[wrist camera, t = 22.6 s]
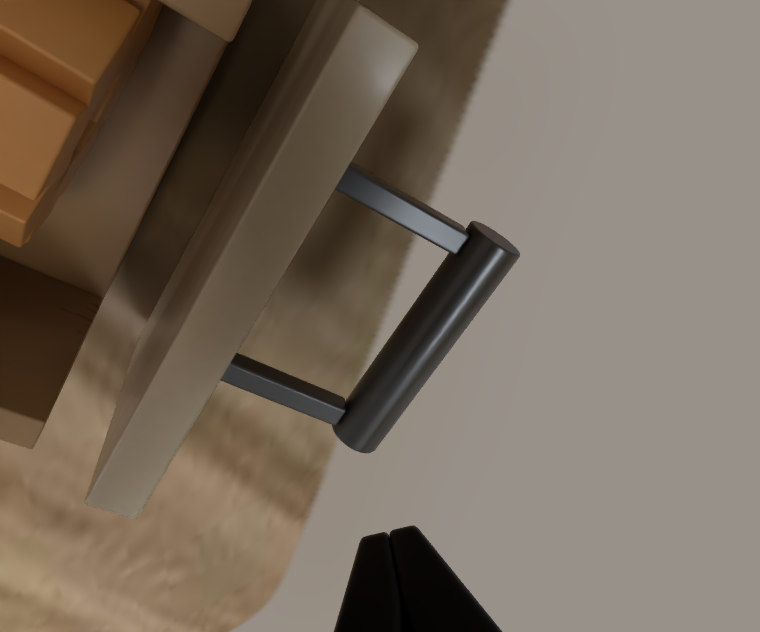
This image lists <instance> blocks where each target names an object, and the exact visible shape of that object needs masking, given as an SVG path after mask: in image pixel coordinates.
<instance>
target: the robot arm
mask: <svg viewBox="0 0 760 632" xmlns="http://www.w3.org/2000/svg"><path fill="white" fill-rule="evenodd" d="M334 632H502V631H501V630H500V628H499V627H498V626H497V625H496V624H495V622H494V621H493V620H492V619H491V617H490V616H489V615H488V614H487V612H486V611H485V610H484V609H483V607H482V606H481V605H480V604H479V603H478V601H477V600H476V599H475V598H474V596H473V595H472V594H471V593H470V591H469V590H468V589H467V588H466V587H465V586H464V584H463V583H462V582H461V580H460V579H459V578H458V577H457V575H456V574H455V573H454V572H453V571H452V569H451V568H450V567H449V566H448V564H447V563H446V562H445V561H444V560H443V558H442V557H441V556H440V555H439V554H438V552H437V551H436V550H435V548H434V547H433V546H432V545H431V543H430V542H429V541H428V540H427V539H426V537H425V536H424V535H423V534H422V533H421V531H420V530H419V529H418V528H417V527H415V526H408V527H403V528H400V529H395V530H392V531H391V532H390V537H389V535H388V534H387V533H385V532H382V533H378V534H374V535H369V536H366V537H363V538H362V539H361V541H360V543H359V547H358V550H357V554H356V557H355V561H354V564H353V568H352V571H351V574H350V578H349V581H348V585H347V588H346V592H345V595H344V599H343V602H342V606H341V609H340V612H339V616H338V619H337V623H336V626H335V630H334Z"/></svg>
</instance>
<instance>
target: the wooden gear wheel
mask: <svg viewBox="0 0 760 632" xmlns="http://www.w3.org/2000/svg"><path fill="white" fill-rule="evenodd" d="M162 5H163V3H161V2H160V1H158V0H0V239H2V240H4V241H7V242H9V243H11V244H13V245H15V246H17V247H22V246H23V244H24V243H27V242H28V241H29V240H30V239H31V238H32V236H33V235H34V234H35V233H36V231H37V230H38V229H39V228H40V226H41V225H42V224H43V223H44V221H45V220H46V219H47V217H48V216H49V215H50V214H51V212H52V210H53V208H54V206H55V204H56V202H57V200H58V198H59V196H62V195H63V194H64V193H65V191H66V189H67V188H68V186H69V184H70V183H71V181H72V179H73V178H74V176H75V174H76V173H77V171H78V169H79V168H80V166H81V164H82V163H83V161H84V159H85V158H86V156H87V154H88V153H89V151H90V149H91V148H92V146H93V145H94V143H95V140H96V137H97V134H98V132H99V129H100V127H101V126H102V124H103V123H104V122H105V121H106V120H107V119H108V118H109V116H110V114H111V112H112V110H113V108H114V106H115V104H116V103H117V101H118V99H119V97H120V95H121V93H122V91H123V89H124V87H125V85H126V83H127V82H128V80H129V78H130V76H131V74H132V72H133V70H134V68H135V66H136V64H137V60H138V59H137V58H138V56H139V54H140V53H141V51H142V49H143V48H144V46H145V45H146V43H147V41H148V40H149V37H150V35H151V32H152V30H153V28H154V25H155V23H156V20H157V18H158V15H159V13H160V10H161V8H162Z"/></svg>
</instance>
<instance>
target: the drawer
mask: <svg viewBox="0 0 760 632" xmlns="http://www.w3.org/2000/svg"><path fill="white" fill-rule="evenodd" d="M158 1H160V2H161V3H163V5H162V8H161V10H160V13H159V15H158V18H157V20H156V23H155V25H154V28H153V30H152V32H151V35H150V37H149V40H148V41H147V43H146V45H145V46H144V48H143V49H142V51H141V53H140V54H139V56H138V58H137V59H138V60H137V64H136V66H135V68H134V70H133V72H132V74H131V76H130V78H129V80H128V82H127V83H126V85H125V87H124V89H123V91H122V93H121V95H120V97H119V99H118V101H117V103H116V104H115V106H114V108H113V110H112V112H111V114H110V116H109V118H108V119H107V120H106V121H105V122H104V123H103V124H102V126H101V127H100V129H99V132H98V134H97V137H96V140H95V143H94V145H93V146H92V148H91V149H90V151H89V153H88V154H87V156H86V158H85V159H84V161H83V163H82V164H81V166H80V168H79V169H78V171H77V173H76V174H75V176H74V178H73V179H72V181H71V183H70V184H69V186H68V188H67V189H66V191H65V193H64V194H63V195H62V196H59V198H58V200H57V202H56V204H55V206H54V208H53V210H52V212H51V214H50V215H49V216H48V217H47V219H46V220H45V221H44V223H43V224H42V225H41V226H40V228H39V229H38V230H37V231H36V233H35V234H34V235H33V236H32V238H31V239H30V240H29V241H28V242H27V243H24V244H23V246H22V247H17V246H15V245H13V244H11V243H9V242H7V241H4V240H2V239H0V440H4V441H7V442H10V443H13V444H16V445H19V446H22V447H25V448H29V449H33V448H34V446H35V444H36V442H37V440H38V438H39V436H40V434H41V432H42V430H43V428H44V426H45V424H46V422H47V419H48V417H49V415H50V413H51V411H52V409H53V407H54V404H55V402H56V400H57V398H58V396H59V394H60V391H61V389H62V387H63V385H64V383H65V381H66V379H67V376H68V374H69V372H70V370H71V368H72V366H73V363H74V361H75V359H76V357H77V355H78V353H79V351H80V348H81V346H82V344H83V342H84V340H85V338H86V335H87V333H88V331H89V329H90V327H91V325H92V323H93V320H94V318H95V316H96V314H97V312H98V310H99V307H100V305H101V303H102V301H103V299H104V297H105V295H106V293H107V291H108V289H109V286H110V284H111V282H112V280H113V278H114V276H115V274H116V272H117V270H118V268H119V266H120V264H121V262H122V260H123V258H124V256H125V254H126V252H127V250H128V247H129V245H130V243H131V241H132V239H133V237H134V235H135V233H136V231H137V229H138V227H139V225H140V223H141V221H142V219H143V217H144V215H145V213H146V211H147V208H148V206H149V204H150V202H151V200H152V198H153V196H154V194H155V192H156V190H157V188H158V186H159V184H160V182H161V180H162V178H163V176H164V174H165V172H166V170H167V167H168V165H169V163H170V161H171V159H172V157H173V155H174V153H175V151H176V149H177V147H178V145H179V143H180V141H181V139H182V137H183V135H184V133H185V131H186V128H187V126H188V124H189V122H190V120H191V118H192V116H193V114H194V112H195V110H196V108H197V106H198V104H199V102H200V100H201V98H202V96H203V94H204V92H205V89H206V87H207V85H208V83H209V81H210V79H211V77H212V75H213V73H214V71H215V69H216V67H217V65H218V63H219V61H220V59H221V57H222V55H223V53H224V51H225V48H226V46H227V44H228V42H231V41H232V40H233V39H234V38H235V36H236V34H237V31H238V29H239V27H240V25H241V23H242V21H243V19H244V17H245V15H246V13H247V11H248V9H249V7H250V5H251V3H252V0H158ZM417 51H418V44H417V43H416V42H415V41H414V40H412V39H411V38H409V37H408V36H406V35H405V34H403V33H402V32H401V31H399V30H398V29H396V28H395V27H393V26H392V25H390V24H389V23H387V22H386V21H385V20H383V19H382V18H380V17H379V16H377V15H376V14H374V13H373V12H371V11H370V10H368V9H367V8H366V7H364V6H363V5H361V4H360V3H358V2H357V1H355V0H316V2H315V4H314V5H313V7H312V9H311V11H310V13H309V15H308V17H307V19H306V21H305V23H304V24H303V26H302V28H301V30H300V32H299V34H298V36H297V38H296V40H295V42H294V44H293V45H292V47H291V49H290V51H289V53H288V55H287V57H286V59H285V61H284V63H283V64H282V66H281V68H280V70H279V72H278V74H277V76H276V78H275V80H274V82H273V83H272V85H271V87H270V89H269V91H268V93H267V95H266V97H265V99H264V101H263V103H262V104H261V106H260V108H259V110H258V112H257V114H256V116H255V118H254V120H253V122H252V123H251V125H250V127H249V129H248V131H247V133H246V135H245V137H244V139H243V141H242V143H241V144H240V146H239V148H238V150H237V152H236V154H235V156H234V158H233V160H232V162H231V163H230V165H229V167H228V169H227V171H226V173H225V175H224V177H223V179H222V181H221V183H220V184H219V186H218V188H217V190H216V192H215V194H214V196H213V198H212V200H211V202H210V203H209V205H208V207H207V209H206V211H205V213H204V215H203V217H202V219H201V221H200V222H199V224H198V226H197V228H196V230H195V232H194V234H193V236H192V238H191V240H190V242H189V243H188V245H187V247H186V249H185V251H184V253H183V255H182V257H181V259H180V261H179V262H178V264H177V266H176V268H175V270H174V272H173V274H172V276H171V278H170V280H169V282H168V283H167V285H166V287H165V289H164V291H163V293H162V295H161V297H160V299H159V301H158V302H157V304H156V306H155V308H154V310H153V312H152V314H151V316H150V318H149V320H148V322H147V323H146V325H145V327H144V329H143V331H142V333H141V335H140V337H139V339H138V341H137V344H136V347H135V350H134V353H133V356H132V359H131V362H130V365H129V368H128V371H127V374H126V377H125V380H124V384H123V387H122V390H121V393H120V396H119V399H118V402H117V405H116V408H115V411H114V414H113V417H112V420H111V423H110V426H109V429H108V432H107V435H106V438H105V441H104V444H103V447H102V450H101V453H100V456H99V459H98V462H97V465H96V468H95V471H94V474H93V477H92V480H91V484H90V487H89V490H88V493H87V496H86V499H85V504H87V505H89V506H92V507H95V508H99V509H102V510H105V511H109V512H112V513H116V514H119V515H122V516H126V517H129V518H132V519H136V518H137V517H138V516H139V515H140V513H141V511H142V510H143V508H144V506H145V505H146V503H147V501H148V500H149V498H150V496H151V495H152V493H153V491H154V490H155V488H156V486H157V485H158V483H159V481H160V480H161V478H162V476H163V475H164V473H165V471H166V470H167V468H168V466H169V465H170V463H171V461H172V460H173V458H174V456H175V455H176V453H177V451H178V450H179V448H180V446H181V445H182V443H183V441H184V440H185V438H186V436H187V435H188V433H189V431H190V430H191V428H192V426H193V425H194V423H195V421H196V419H197V418H198V416H199V414H200V413H201V411H202V409H203V408H204V406H205V404H206V403H207V401H208V399H209V398H210V396H211V394H212V393H213V391H214V389H215V388H216V386H217V384H218V383H219V381H220V380H221V381H224V382H226V383H229V384H231V385H234V386H236V387H239V388H241V389H244V390H246V391H249V392H251V393H254V394H256V395H259V396H261V397H264V398H266V399H269V400H271V401H274V402H276V403H279V404H281V405H284V406H286V407H289V408H291V409H294V410H296V411H299V412H302V413H304V414H307V415H309V416H312V417H314V418H317V419H319V420H322V421H324V422H327V423H329V424H332V427H333V430H334V432H335V434H336V435H337V437H338V438H339V439H340V440H341V441H342V442H343V443H344V444H346V445H347V446H348V447H350V448H351V449H353V450H355V451H358V452H362V453H371V452H373V451H374V450H375V449H376V448H377V446H378V445H379V444H380V443H381V441H382V440H383V439H384V437H385V436H386V435H387V433H388V432H389V431H390V429H391V428H392V427H393V425H394V424H395V422H396V421H397V420H398V419H399V417H400V416H401V414H402V413H403V412H404V411H405V409H406V408H407V407H408V405H409V404H410V403H411V401H412V400H413V399H414V397H415V396H416V394H417V393H418V392H419V391H420V389H421V388H422V387H423V385H424V384H425V383H426V381H427V380H428V378H429V377H430V376H431V374H432V373H433V372H434V370H435V369H436V368H437V366H438V365H439V364H440V362H441V361H442V360H443V358H444V357H445V355H446V354H447V353H448V352H449V350H450V349H451V348H452V346H453V345H454V344H455V342H456V341H457V340H458V338H459V337H460V336H461V334H462V333H463V332H464V330H465V329H466V328H467V326H468V325H469V324H470V322H471V321H472V320H473V318H474V317H475V316H476V314H477V313H478V312H479V310H480V309H481V307H482V306H483V305H484V304H485V302H486V301H487V300H488V298H489V297H490V295H491V294H492V293H493V292H494V290H495V289H496V287H497V286H498V285H499V283H500V282H501V281H502V279H503V278H504V277H505V276H506V274H507V273H508V271H509V270H510V269H511V267H512V266H513V265H514V263H515V262H516V261H517V259H518V258H519V257H520V253H519V251H518V250H517V249H516V248H515V247H514V246H513V245H512V244H511V243H510V242H509V241H508V240H506V239H505V238H504V237H503V236H501V235H500V234H498V233H497V232H495V231H494V230H492V229H490V228H489V227H487V226H485V225H484V224H482V223H479V222H476V221H472V222H470V224H469V225H468V227H467V228H466V230H465V228H464V227H463V226H462V225H460V224H459V223H457V222H455V221H454V220H451V219H450V218H448V217H447V216H445V215H443V214H441V213H440V212H438V211H436V210H434V209H433V208H431V207H429V206H428V205H426V204H424V203H422V202H421V201H419V200H417V199H415V198H414V197H412V196H410V195H408V194H407V193H405V192H403V191H401V190H400V189H398V188H396V187H394V186H393V185H391V184H389V183H387V182H386V181H384V180H382V179H381V178H379V177H377V176H375V175H374V174H372V173H370V172H368V171H367V170H365V169H363V168H361V167H360V166H358V165H356V164H354V163H353V162H351V161H352V159H353V157H354V156H355V154H356V152H357V151H358V149H359V147H360V146H361V144H362V142H363V141H364V139H365V137H366V136H367V134H368V132H369V131H370V129H371V127H372V126H373V124H374V122H375V121H376V119H377V117H378V116H379V114H380V112H381V111H382V109H383V107H384V106H385V104H386V102H387V101H388V99H389V97H390V96H391V94H392V92H393V91H394V89H395V87H396V86H397V84H398V82H399V81H400V79H401V77H402V76H403V74H404V72H405V71H406V69H407V67H408V66H409V64H410V62H411V61H412V59H413V57H414V56H415V54H416V52H417ZM334 189H335V190H337V191H339V192H341V193H342V194H344V195H346V196H348V197H350V198H352V199H353V200H355V201H357V202H359V203H361V204H362V205H364V206H366V207H368V208H370V209H372V210H373V211H375V212H377V213H379V214H381V215H382V216H384V217H386V218H388V219H390V220H391V221H393V222H395V223H397V224H399V225H401V226H402V227H404V228H406V229H408V230H410V231H411V232H413V233H415V234H417V235H419V236H421V237H423V238H424V239H426V240H428V241H430V242H431V243H433V244H435V245H437V246H439V247H441V248H442V249H444V250H446V251H448V252H449V254H448V255H447V257H446V258H445V260H444V261H443V262H442V264H441V265H440V267H439V268H438V270H437V271H436V272H435V274H434V275H433V277H432V278H431V280H430V281H429V283H428V284H427V285H426V287H425V288H424V290H423V291H422V293H421V294H420V295H419V297H418V298H417V300H416V301H415V303H414V304H413V305H412V307H411V308H410V310H409V311H408V312H407V314H406V315H405V317H404V318H403V320H402V321H401V323H400V324H399V325H398V327H397V328H396V330H395V331H394V332H393V334H392V335H391V337H390V338H389V340H388V341H387V343H386V344H385V345H384V347H383V348H382V350H381V351H380V352H379V354H378V355H377V357H376V358H375V360H374V361H373V362H372V364H371V365H370V367H369V368H368V370H367V371H366V373H365V374H364V375H363V377H362V378H361V380H360V381H359V383H358V384H357V385H356V387H355V388H354V390H353V391H352V393H351V394H350V395H349V397H348V398H347V400H346V401H345V399H344V398H343V397H341V396H339V395H337V394H334V393H332V392H330V391H327V390H325V389H322V388H320V387H318V386H315V385H313V384H310V383H308V382H306V381H303V380H301V379H298V378H296V377H294V376H291V375H289V374H287V373H284V372H282V371H279V370H277V369H275V368H272V367H270V366H267V365H265V364H263V363H260V362H258V361H255V360H253V359H251V358H248V357H246V356H244V355H241V354H239V353H237V351H238V349H239V348H240V346H241V344H242V343H243V341H244V339H245V338H246V336H247V334H248V333H249V331H250V329H251V328H252V326H253V324H254V323H255V321H256V319H257V318H258V316H259V314H260V313H261V311H262V309H263V308H264V306H265V304H266V303H267V301H268V299H269V298H270V296H271V294H272V293H273V291H274V289H275V288H276V286H277V284H278V283H279V281H280V279H281V278H282V276H283V274H284V273H285V271H286V269H287V268H288V266H289V264H290V263H291V261H292V259H293V258H294V256H295V254H296V253H297V251H298V249H299V248H300V246H301V244H302V243H303V241H304V239H305V238H306V236H307V234H308V233H309V231H310V229H311V228H312V226H313V224H314V223H315V221H316V219H317V218H318V216H319V214H320V213H321V211H322V209H323V208H324V206H325V204H326V203H327V201H328V199H329V198H330V196H331V194H332V193H333V191H334Z"/></svg>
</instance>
